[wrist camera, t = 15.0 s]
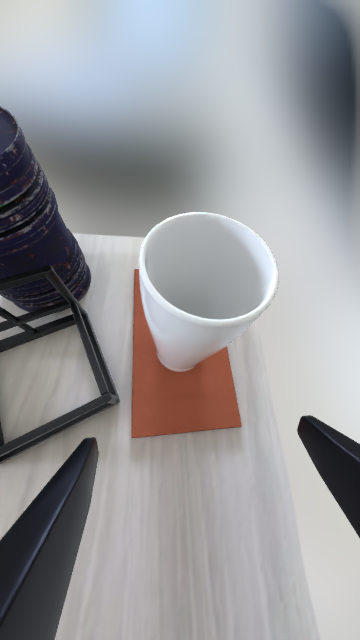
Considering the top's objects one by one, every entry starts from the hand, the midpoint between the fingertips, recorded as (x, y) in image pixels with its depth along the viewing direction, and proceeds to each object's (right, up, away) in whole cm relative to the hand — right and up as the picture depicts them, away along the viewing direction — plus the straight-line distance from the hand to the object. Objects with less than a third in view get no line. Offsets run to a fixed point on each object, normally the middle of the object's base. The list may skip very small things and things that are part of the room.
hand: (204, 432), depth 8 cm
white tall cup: (-1, +1, +14) cm, 14 cm away
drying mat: (-1, +3, +15) cm, 16 cm away
